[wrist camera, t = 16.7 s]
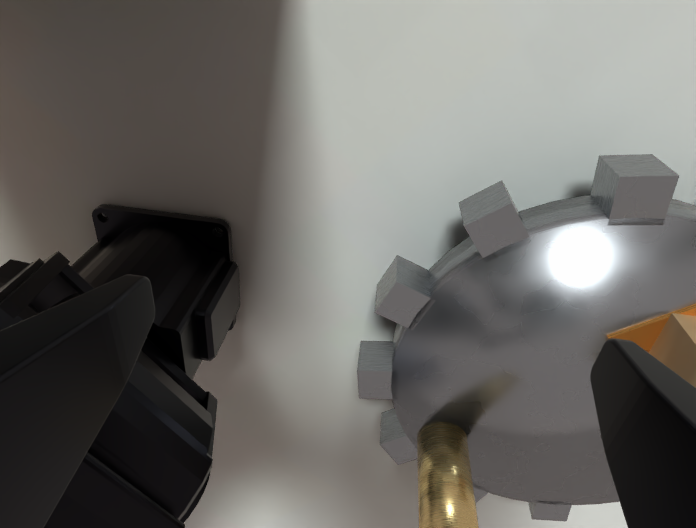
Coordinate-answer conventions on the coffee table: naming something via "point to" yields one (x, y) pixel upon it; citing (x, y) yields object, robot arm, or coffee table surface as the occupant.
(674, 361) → the block
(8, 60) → the coffee table surface
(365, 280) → the coffee table surface
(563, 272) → the sprocket
